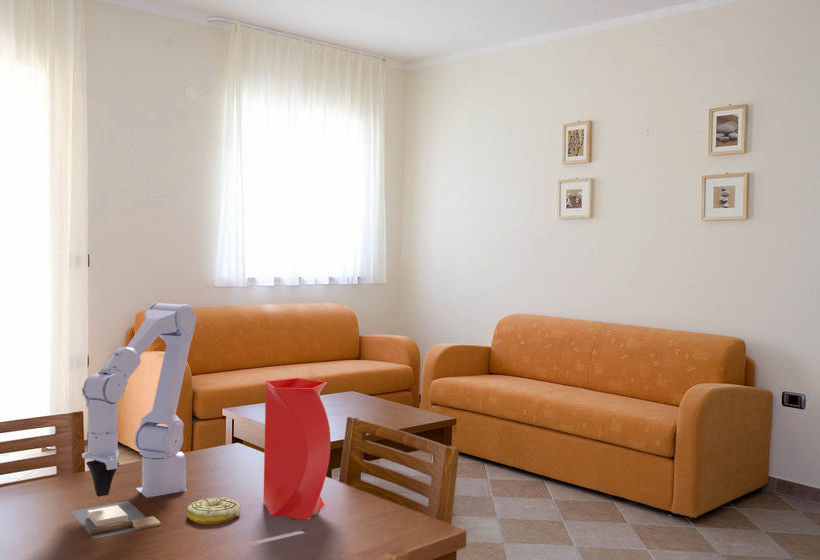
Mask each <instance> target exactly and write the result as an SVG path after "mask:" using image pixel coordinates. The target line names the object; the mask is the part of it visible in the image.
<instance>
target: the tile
mask: <svg viewBox="0 0 820 560" xmlns="http://www.w3.org/2000/svg"><path fill="white" fill-rule="evenodd" d="M88 517H89V518H90V520H91V521H92V522H93V523H94V524H95V525H96V526H97V527H102V526H107V525H111V524H116V523H121V522H125V521H128V515H127V514H126V513H125V512H124V511H123V510H122V509H121V508H120V507H119V506H118V505H115V506H110V507H104V508H99V509H93V510H88Z"/></svg>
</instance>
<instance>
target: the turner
mask: <svg viewBox="0 0 820 560" xmlns="http://www.w3.org/2000/svg"><path fill="white" fill-rule="evenodd" d="M152 526H154V527H158V526H161V521H160V520H158V519H157V518H156V517H155V516H154V515H152V516H147V517H146V516H145V518H141V519H136V520H131V521H126V522H121V523H116V524H111V525H107V526H102V527H97V528H92V529H90V530H89V533H90V534H89V533H88V534H89V536H90V535H94V534H99V533H104V532H108V531H113V530H118V529H122V528H127V527H133V528H134V529H135V530H134V531H138V530H143V528H144V529H147V528H148V527H149V528H153V527H152ZM149 528H148V529H149Z"/></svg>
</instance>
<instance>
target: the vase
mask: <svg viewBox="0 0 820 560" xmlns="http://www.w3.org/2000/svg"><path fill="white" fill-rule="evenodd" d="M327 384H328V382H327V381H322V380H315V379H309V378H303V377H292V378H286V379H285V378H284V379H275V380H274V379H272V380H266V381H265V396H264V397H265V400H264V401H265V405H264V450H263V451H264V452H263V453H264V456H263V457H264V458H263V499H262V500H263V502H262V504H263V505H264V507H265V509H266V510H267V512H268V513H269V514H270V516H271V517H281V516H282V517H287V518H289V519H290V520H309V519H308V518H310V519H312V518H313V517H314V516H315V515H316V514H315V513H317V512H318V511H319V510H320V509H321V508H322V507H323V506H324V505H325V506H326V504H325V503H324V500H323V498H322V497H321V494H322V490H323V487H324V484H325V481H326V478H327V477H326V476H327V473H328V468H329V464H330V463H329V462H330V456H331V429H330V428H331V427H330V421H329V417H328V414H327V411H326V408H325V405H324V403H323V401H322V399H321V391H322V390H323V389H324V387H325V386H326V385H327ZM319 512H320V511H319ZM319 512H318V513H319ZM318 513H317V514H318ZM314 514H315V515H314ZM313 515H314V516H313ZM312 516H313V517H312ZM311 517H312V518H311ZM291 518H293V519H291ZM295 518H296V519H295ZM301 518H302V519H301Z"/></svg>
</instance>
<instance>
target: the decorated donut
mask: <svg viewBox="0 0 820 560" xmlns="http://www.w3.org/2000/svg"><path fill="white" fill-rule="evenodd" d="M240 514H241V505H240V504H239V503H238V502H237V501H236V500H235V499H232V498H231V497H230V498H229V497H224V496H223V497H222V496H221V497H219V496H218V497H208V498H207V497H206V498H203V499H199V500H196V501H194V502H192V503H190V504H189V505H188V506H187V511H186V515H187V518H188V519H189V521H191V522H193V523H195V524H198V525H205V526H206V525H219V524H220V525H221V524H225V523H228V522H230V521H233V520H234V519H236V518H237V517H239V515H240Z"/></svg>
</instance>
